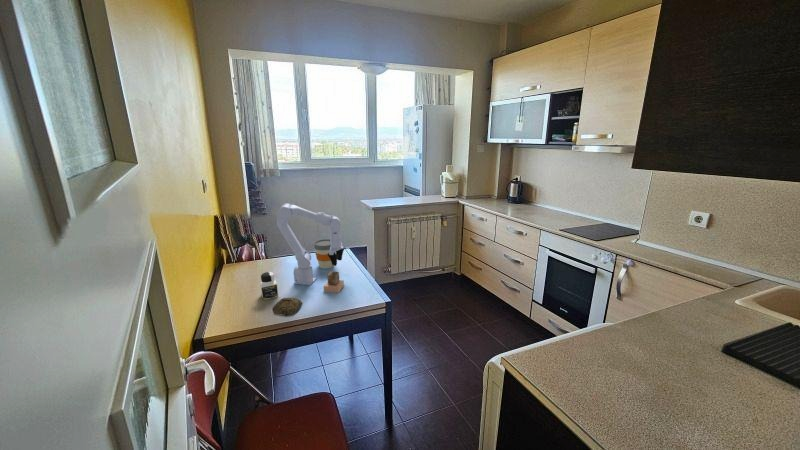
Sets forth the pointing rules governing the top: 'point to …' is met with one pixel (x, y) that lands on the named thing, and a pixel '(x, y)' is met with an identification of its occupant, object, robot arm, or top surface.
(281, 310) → the bread roll
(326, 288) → the terracotta tile
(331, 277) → the walnut block
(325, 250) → the reusable coffee cup
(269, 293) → the medicine bottle
